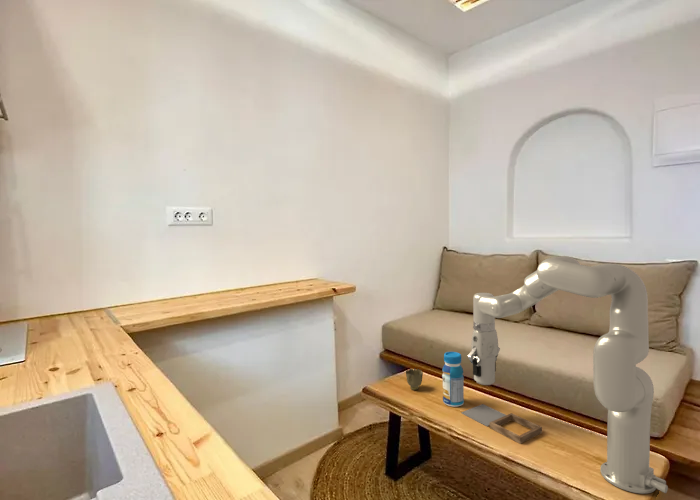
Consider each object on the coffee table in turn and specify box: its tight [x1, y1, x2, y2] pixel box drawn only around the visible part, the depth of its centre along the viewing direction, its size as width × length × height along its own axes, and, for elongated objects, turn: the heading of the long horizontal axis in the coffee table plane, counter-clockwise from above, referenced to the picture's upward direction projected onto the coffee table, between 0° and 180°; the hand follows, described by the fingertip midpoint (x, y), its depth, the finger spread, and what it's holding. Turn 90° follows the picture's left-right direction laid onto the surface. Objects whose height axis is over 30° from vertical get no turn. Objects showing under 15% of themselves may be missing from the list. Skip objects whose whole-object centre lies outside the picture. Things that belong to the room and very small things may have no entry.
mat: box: [461, 403, 507, 428], centre depth 145 cm, size 12×12×1 cm
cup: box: [405, 368, 424, 391], centre depth 170 cm, size 8×7×8 cm
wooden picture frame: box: [489, 413, 543, 444], centre depth 134 cm, size 12×12×2 cm
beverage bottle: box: [441, 351, 465, 408], centre depth 155 cm, size 8×8×20 cm
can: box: [473, 352, 496, 386], centre depth 144 cm, size 8×8×12 cm
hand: (484, 372), depth 144 cm, fingers closed on can, 7 cm apart
